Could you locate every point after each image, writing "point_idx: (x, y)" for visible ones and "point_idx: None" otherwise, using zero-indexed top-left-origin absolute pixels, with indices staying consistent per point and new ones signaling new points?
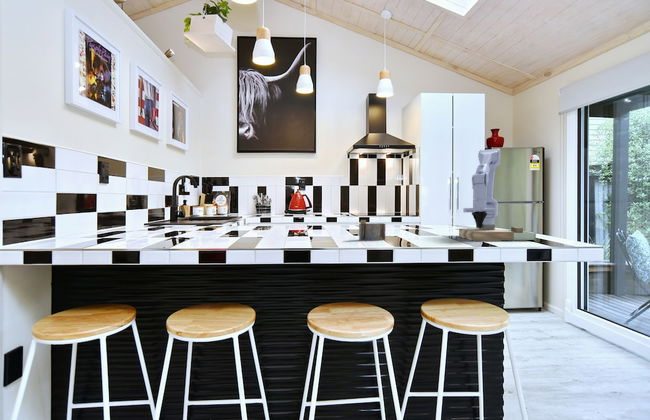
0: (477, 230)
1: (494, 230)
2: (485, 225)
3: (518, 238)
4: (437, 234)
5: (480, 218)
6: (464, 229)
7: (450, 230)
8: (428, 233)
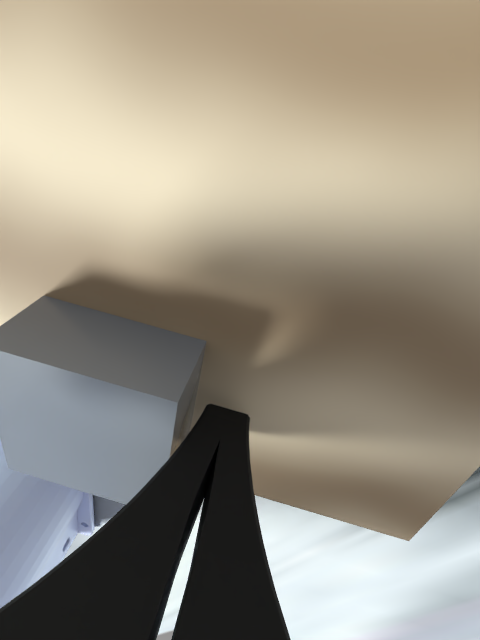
0: (391, 309)
1: (84, 226)
2: (157, 383)
3: None
4: (425, 586)
5: (202, 569)
6: (452, 468)
7: (166, 625)
8: (437, 627)
